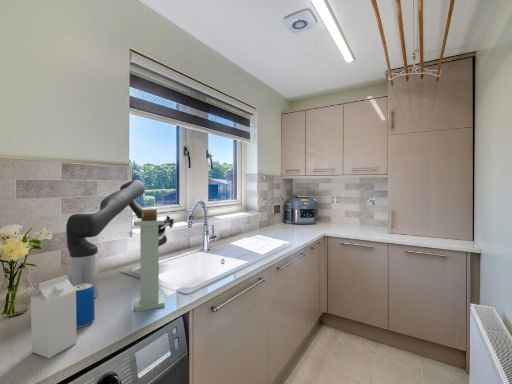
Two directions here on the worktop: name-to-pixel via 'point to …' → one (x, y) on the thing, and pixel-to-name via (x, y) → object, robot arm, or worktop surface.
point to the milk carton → (53, 317)
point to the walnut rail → (149, 214)
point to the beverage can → (84, 304)
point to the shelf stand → (149, 265)
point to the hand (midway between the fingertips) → (158, 217)
